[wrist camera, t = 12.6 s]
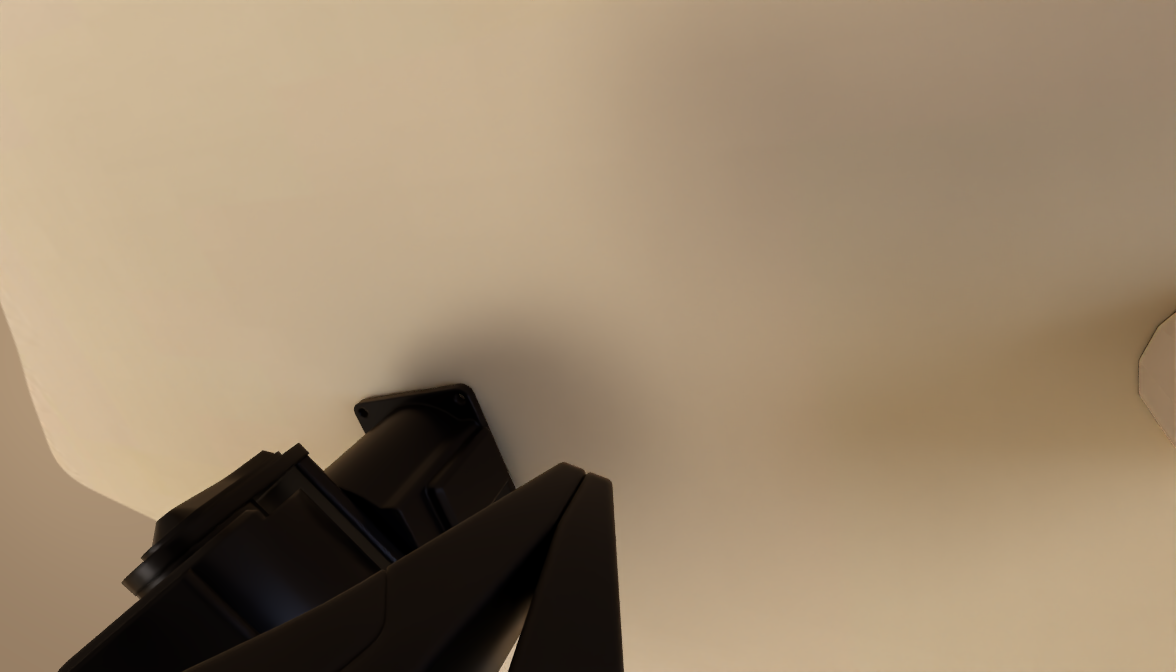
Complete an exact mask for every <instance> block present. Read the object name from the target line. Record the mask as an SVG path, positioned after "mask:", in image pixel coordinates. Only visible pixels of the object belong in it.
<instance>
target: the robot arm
mask: <svg viewBox="0 0 1176 672" xmlns="http://www.w3.org/2000/svg"><path fill="white" fill-rule="evenodd" d="M459 394H461V395H463V396H464V398H465V399H463V398H462V397H461V396H460V395H459ZM354 412H355V414H356V416H357V418H358V420H359V422H360V424H361V426H362V428H363V430H364V432H365V435H364V436H363V437H362V438H361V439H359V440H358V441H357V442H356V443H355V444H354V445H353V446H351V447H350V448H349V449H348V450H347V451H346V452H345V453H343V454H342V455H341V456H340V457H339V458H338V459H337V460H335V461H334V462H333V463H332V464H331V465H330V466H329V467H328V468H326V469H325V470H324V471H323V470H322V469H321V468H320V467H319V466H318V465H317V464H316V463H315V462H314V461H313V460H312V459H311V458H310V457H309V456H308V454H309V452H308V451H307V450H306V449H305V448H304V447H303V446H302V445H301V444H300V443H298V444H296V445H295V446H294V447H292V448H291V449H289V450H288V451H287V452H285V453H284V454H283V455H282V454H281V453H280V452H279V451H278V452H276V453H275V454H274V453H271V452H267V451H261V452H260V453H259V454H257V455H256V456H255V457H253V458H252V459H250V460H249V461H248V462H246V463H245V464H244V465H242V466H241V467H240V468H238V469H237V470H236V471H234V472H233V473H231V474H230V475H228V476H227V477H226V478H224V479H222V480H221V481H219V482H218V483H216V484H214V485H213V486H211V487H209V488H207V489H206V490H204V491H202V492H201V493H199V494H197V495H195V496H194V497H192V498H190V499H189V500H187V501H185V502H184V503H182V504H180V505H178V506H177V507H175V508H173V509H172V510H171V511H169V512H168V513H167V514H165V515H164V516H163V517H162V518H160V519H159V520H158V521H157V522H156V527H155V533H154V539H153V544H152V547H151V548H150V549H149V550H148V551H147V552H146V553H145V554H144V555H143V556H142V557H141V559H142V560H143V561H144V562H142V563H141V564H140V565H139V566H138V567H137V568H136V569H135V570H134V571H132V572H131V573H130V574H129V575H128V576H127V577H126V578H125V579H124V580H123V581H122V584H123V585H124V586H125V587H126V588H127V589H128V590H129V591H131V592H132V593H133V594H134V595H135V596H137V597H138V598H139V599H140V600H139V601H138V602H136V603H135V604H134V605H133V606H132V607H131V608H129V609H128V610H127V611H126V612H125V613H123V614H122V615H121V616H120V617H119V618H118V619H116V620H115V621H114V622H113V623H112V624H111V625H109V626H108V627H107V628H106V629H105V630H104V631H103V632H101V633H100V634H99V635H98V636H96V637H95V638H94V639H93V640H92V641H91V642H89V643H88V644H87V645H86V646H85V647H84V648H82V649H81V650H80V651H79V652H78V653H77V654H75V655H74V656H73V657H72V658H71V659H69V660H68V661H67V662H66V663H65V664H64V665H63V666H62V667H61V668H60V669H59V671H58V672H498V671H499V670H500V668H501V666H502V665H503V663H504V661H505V659H506V658H507V656H508V654H509V653H510V651H511V649H512V647H513V646H514V644H515V642H516V640H517V639H518V637H519V635H520V637H519V640H518V643H517V646H516V649H515V652H514V655H513V658H512V661H511V664H510V667H509V670H508V672H624V666H623V650H622V633H621V617H620V601H619V585H618V568H617V552H616V536H615V520H614V503H613V487H612V482H611V481H610V480H609V479H607V478H604V477H602V476H599V475H596V474H594V473H591V472H590V473H587V474H586V472H585V471H584V470H583V469H581V468H579V467H576V466H574V465H571V464H568V463H566V462H562V463H559V464H558V465H556V466H554V467H553V468H551V469H549V470H548V471H546V472H544V473H543V474H541V475H539V476H538V477H536V478H534V479H533V480H531V481H529V482H528V483H526V484H524V485H523V486H521V487H519V488H518V489H515V486H514V484H513V482H512V479H511V477H510V475H509V472H508V470H507V468H506V466H505V463H504V461H503V459H502V456H501V454H500V452H499V449H498V447H497V445H496V442H495V440H494V438H493V436H492V433H491V431H490V429H489V426H488V424H487V422H486V419H485V417H484V415H483V412H482V410H481V408H480V405H479V403H478V401H477V399H476V396H475V394H474V392H473V390H472V389H471V388H470V387H469V386H467V385H465V384H456V385H449V386H443V387H437V388H431V389H424V390H418V391H412V392H406V393H399V394H393V395H387V396H380V397H374V398H368V399H363V400H361V401H360V402H359V403H357V404H356V405H355V407H354Z"/></svg>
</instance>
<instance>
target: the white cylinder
mask: <svg viewBox="0 0 1176 672" xmlns="http://www.w3.org/2000/svg"><path fill="white" fill-rule="evenodd" d="M1139 395H1140V397H1141V398H1142V400H1143V401H1144V403H1145V404H1146V406H1147V407H1148V409H1149V410H1150V412H1151V414H1152V415H1153V417H1154V418H1155V420H1156V421H1157V423H1158V424H1159V426H1160V427H1161V428H1162V430H1163V431H1164V433H1165V434H1166V436H1167V437H1168V438H1169V440H1170V441H1171V443H1172V444H1173V446H1174V447H1175V448H1176V312H1175V313H1174V314H1173V315H1172V316H1171V317H1169V318H1168V319H1167V320H1166V321H1164V322H1163V323H1162V324H1161V325H1159V326H1158V328H1157V330H1156V332H1155V333H1154V335H1153V337H1152V339H1151V340H1150V342H1149V344H1148V346H1147V347H1146V349H1145V351H1144V353H1143V354H1142V356H1141V358H1140V360H1139Z"/></svg>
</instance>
